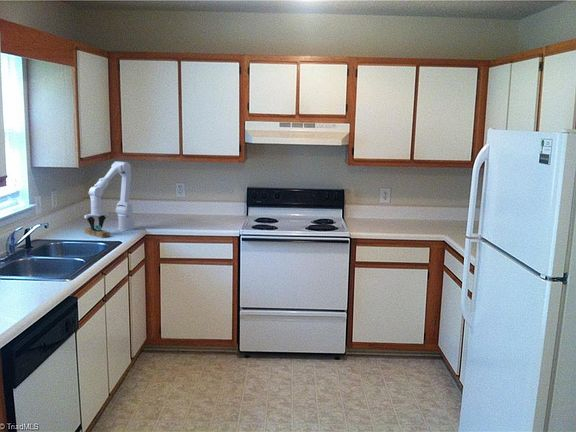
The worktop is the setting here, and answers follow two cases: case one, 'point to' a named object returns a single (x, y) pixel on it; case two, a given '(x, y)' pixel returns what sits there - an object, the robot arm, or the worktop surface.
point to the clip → (97, 227)
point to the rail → (97, 233)
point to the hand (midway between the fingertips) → (96, 228)
